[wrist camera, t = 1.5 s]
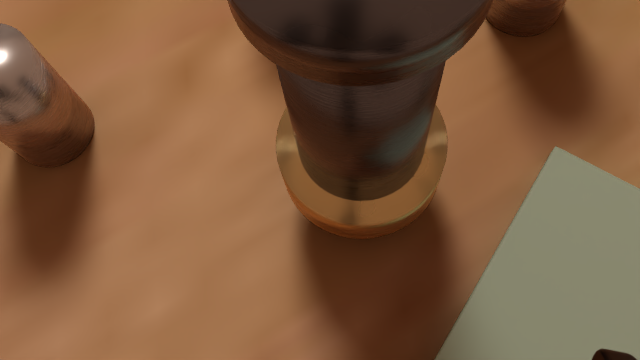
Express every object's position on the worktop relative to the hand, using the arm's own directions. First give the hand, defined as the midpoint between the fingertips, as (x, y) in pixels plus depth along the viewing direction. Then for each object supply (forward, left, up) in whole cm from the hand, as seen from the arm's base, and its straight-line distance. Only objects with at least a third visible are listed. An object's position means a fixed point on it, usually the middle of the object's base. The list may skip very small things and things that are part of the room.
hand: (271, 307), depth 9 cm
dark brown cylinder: (+6, +3, -13) cm, 14 cm away
